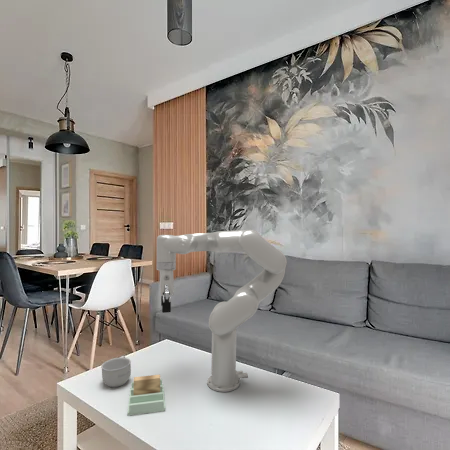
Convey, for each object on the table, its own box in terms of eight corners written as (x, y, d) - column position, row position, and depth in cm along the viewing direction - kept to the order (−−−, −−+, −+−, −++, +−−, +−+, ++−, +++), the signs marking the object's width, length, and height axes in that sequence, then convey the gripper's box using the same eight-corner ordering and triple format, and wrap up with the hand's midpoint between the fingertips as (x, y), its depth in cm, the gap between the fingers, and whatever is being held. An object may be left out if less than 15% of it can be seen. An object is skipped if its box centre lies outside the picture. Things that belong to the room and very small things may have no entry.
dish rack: (163, 386, 118) (163, 378, 118) (165, 410, 103) (165, 401, 103) (130, 390, 115) (130, 381, 115) (127, 415, 100) (127, 405, 100)
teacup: (121, 392, 114) (121, 370, 114) (95, 388, 116) (95, 367, 116) (139, 374, 128) (139, 354, 128) (115, 371, 130) (115, 352, 130)
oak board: (159, 393, 111) (160, 374, 111) (160, 397, 109) (160, 378, 109) (133, 397, 109) (134, 377, 109) (133, 401, 107) (133, 380, 107)
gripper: (177, 268, 116) (177, 314, 116) (174, 262, 133) (173, 302, 133) (157, 269, 114) (156, 315, 114) (156, 263, 131) (155, 303, 131)
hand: (165, 308), depth 123 cm, fingers open, 9 cm apart
